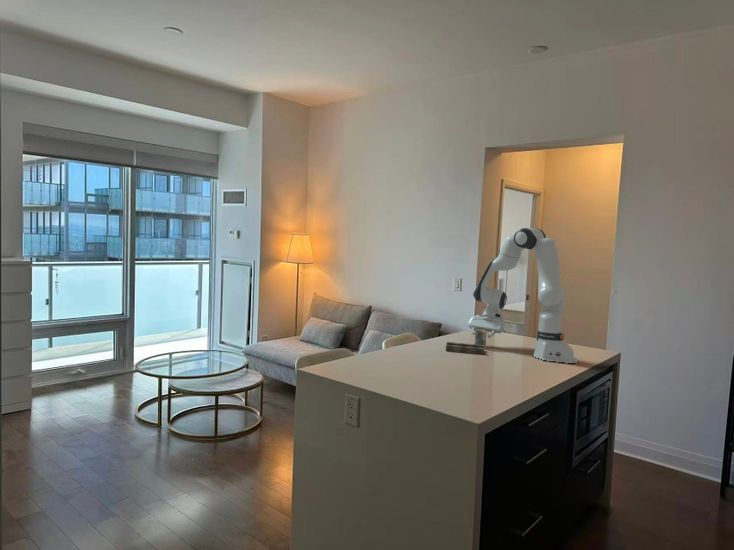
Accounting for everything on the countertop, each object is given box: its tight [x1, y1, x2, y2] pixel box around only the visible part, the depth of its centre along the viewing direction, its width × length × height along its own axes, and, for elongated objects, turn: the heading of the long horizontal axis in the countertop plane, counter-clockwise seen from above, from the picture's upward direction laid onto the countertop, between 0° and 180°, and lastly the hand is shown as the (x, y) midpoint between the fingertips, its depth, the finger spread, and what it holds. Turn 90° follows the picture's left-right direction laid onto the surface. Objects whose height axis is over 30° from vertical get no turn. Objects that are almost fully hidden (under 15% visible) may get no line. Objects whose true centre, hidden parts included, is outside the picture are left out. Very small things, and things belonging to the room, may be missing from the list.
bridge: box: [445, 341, 485, 355], centre depth 290 cm, size 20×10×3 cm, turn 79°
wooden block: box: [474, 329, 488, 350], centre depth 300 cm, size 6×3×10 cm, turn 54°
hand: (481, 335), depth 301 cm, fingers open, 8 cm apart
